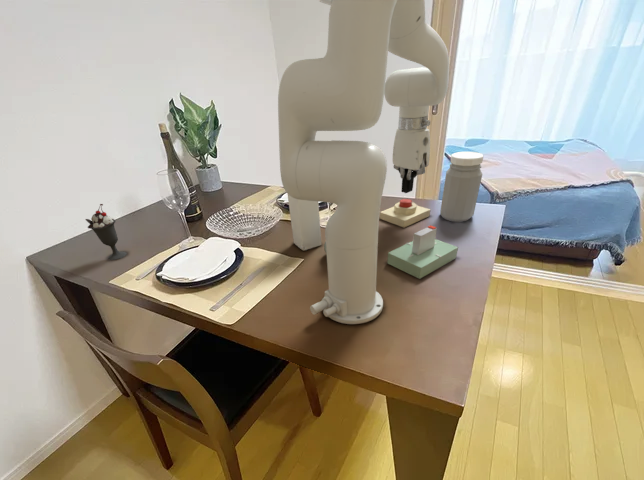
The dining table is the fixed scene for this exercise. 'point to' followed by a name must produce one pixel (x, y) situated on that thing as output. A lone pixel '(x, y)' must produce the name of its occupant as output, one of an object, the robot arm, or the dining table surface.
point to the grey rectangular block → (424, 240)
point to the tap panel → (422, 258)
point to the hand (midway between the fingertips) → (406, 191)
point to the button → (405, 203)
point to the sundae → (105, 232)
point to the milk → (305, 223)
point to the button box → (404, 214)
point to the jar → (461, 186)
